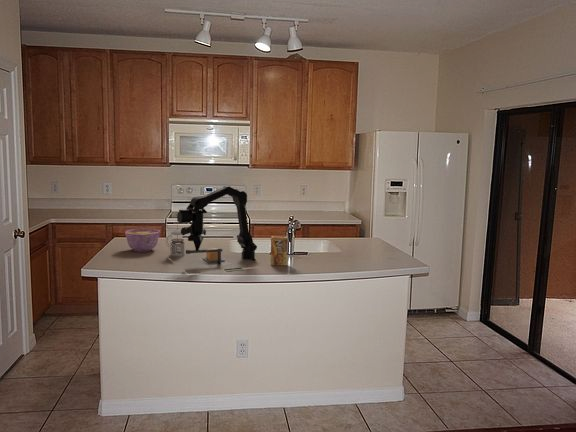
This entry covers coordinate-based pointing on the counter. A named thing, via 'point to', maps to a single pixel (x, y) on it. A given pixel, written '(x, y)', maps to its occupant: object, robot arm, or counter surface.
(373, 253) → the counter surface
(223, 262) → the socket plate
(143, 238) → the bowl of food
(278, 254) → the candy box
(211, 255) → the orange cube
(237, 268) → the pad
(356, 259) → the counter surface
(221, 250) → the black knob lever
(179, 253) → the french press
